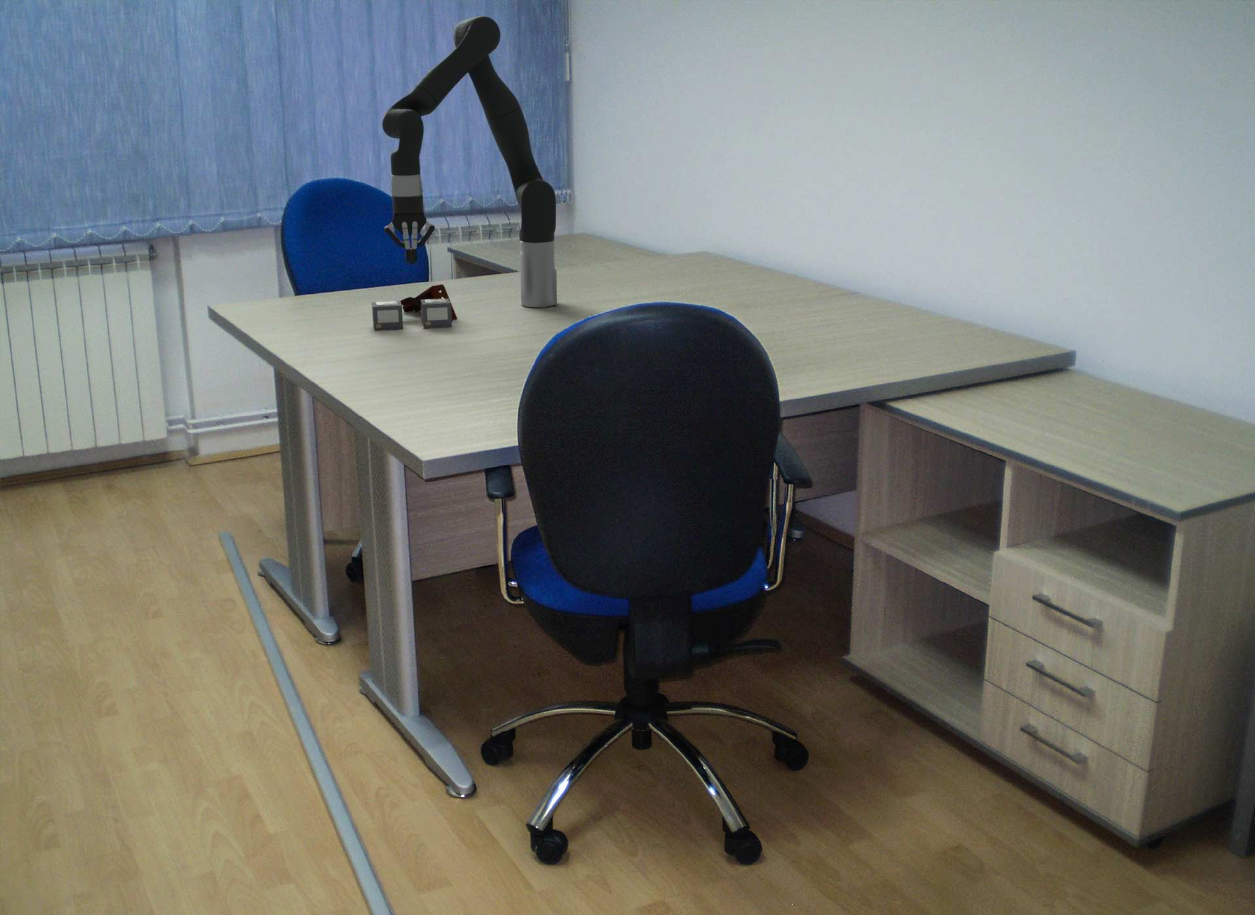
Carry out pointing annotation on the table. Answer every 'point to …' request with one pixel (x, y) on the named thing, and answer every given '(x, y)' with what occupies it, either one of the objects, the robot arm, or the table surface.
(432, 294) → the bracket
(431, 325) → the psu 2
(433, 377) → the table surface
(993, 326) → the table surface
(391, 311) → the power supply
